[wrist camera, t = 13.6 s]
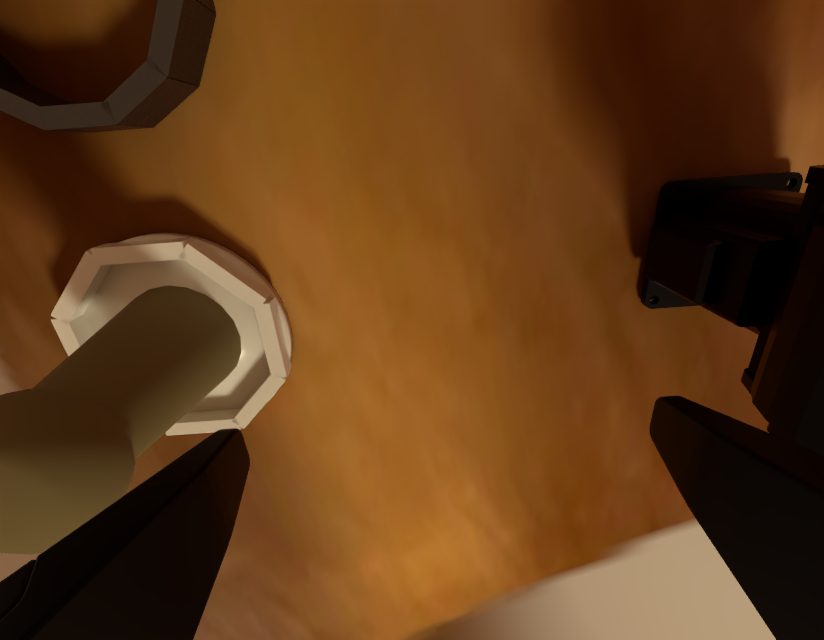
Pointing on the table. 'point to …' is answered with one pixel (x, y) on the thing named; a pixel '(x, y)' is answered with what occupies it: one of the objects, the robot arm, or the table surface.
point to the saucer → (203, 272)
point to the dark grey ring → (141, 92)
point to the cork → (106, 412)
